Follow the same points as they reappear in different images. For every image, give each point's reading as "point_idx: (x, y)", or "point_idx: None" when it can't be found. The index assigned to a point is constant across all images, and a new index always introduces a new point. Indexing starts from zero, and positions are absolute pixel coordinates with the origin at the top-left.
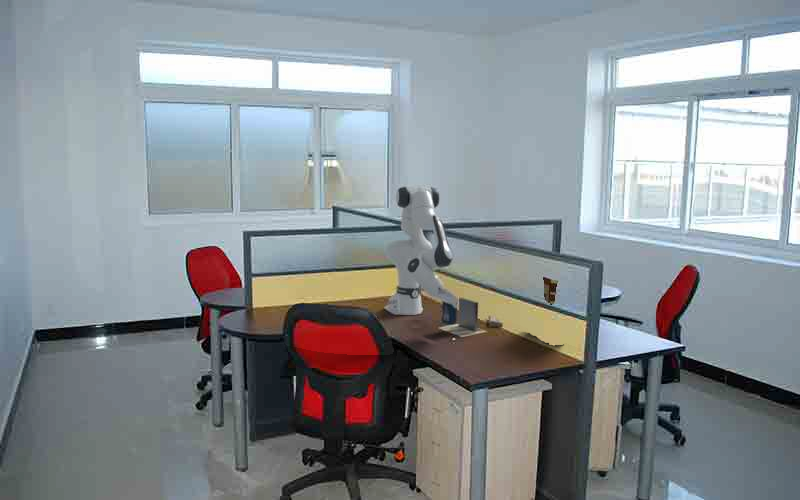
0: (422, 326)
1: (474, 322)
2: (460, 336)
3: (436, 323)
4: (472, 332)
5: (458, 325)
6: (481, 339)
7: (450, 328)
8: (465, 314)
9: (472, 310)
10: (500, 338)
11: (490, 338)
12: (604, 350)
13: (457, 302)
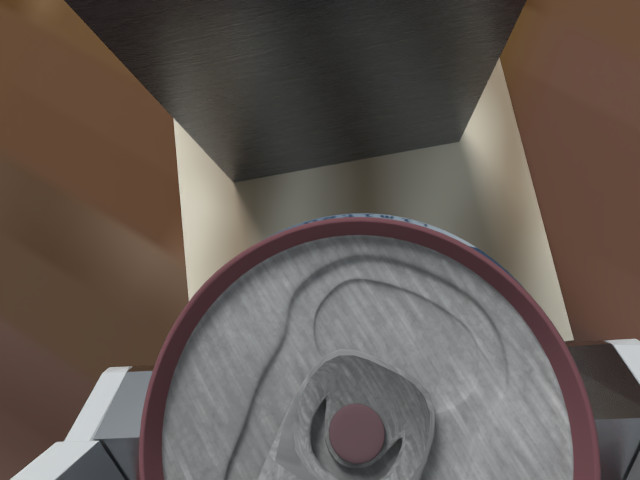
0: (24, 444)
1: (470, 99)
2: None
3: (13, 276)
4: (469, 170)
5: (217, 173)
6: (597, 165)
7: None
8: (307, 100)
9: (455, 18)
10: (621, 13)
11: (594, 84)
12: None
13: (474, 246)
